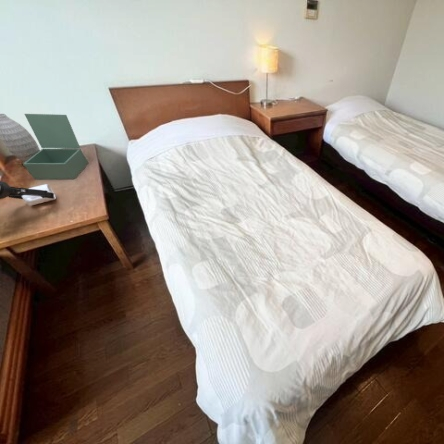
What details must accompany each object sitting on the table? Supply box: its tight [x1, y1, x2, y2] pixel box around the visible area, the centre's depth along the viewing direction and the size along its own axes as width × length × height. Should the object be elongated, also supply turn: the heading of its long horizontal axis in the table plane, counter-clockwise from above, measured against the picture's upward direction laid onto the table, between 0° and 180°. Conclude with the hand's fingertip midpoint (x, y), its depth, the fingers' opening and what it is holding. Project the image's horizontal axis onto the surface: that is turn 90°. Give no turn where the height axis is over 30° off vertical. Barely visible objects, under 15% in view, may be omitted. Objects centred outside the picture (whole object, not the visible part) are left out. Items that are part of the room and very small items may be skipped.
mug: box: [22, 183, 57, 207], centre depth 120 cm, size 12×10×8 cm
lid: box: [24, 113, 81, 149], centre depth 141 cm, size 18×20×5 cm
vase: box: [0, 113, 41, 164], centre depth 139 cm, size 13×13×28 cm
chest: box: [22, 148, 89, 181], centre depth 141 cm, size 18×20×10 cm
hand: (37, 196), depth 121 cm, fingers closed on mug, 12 cm apart
